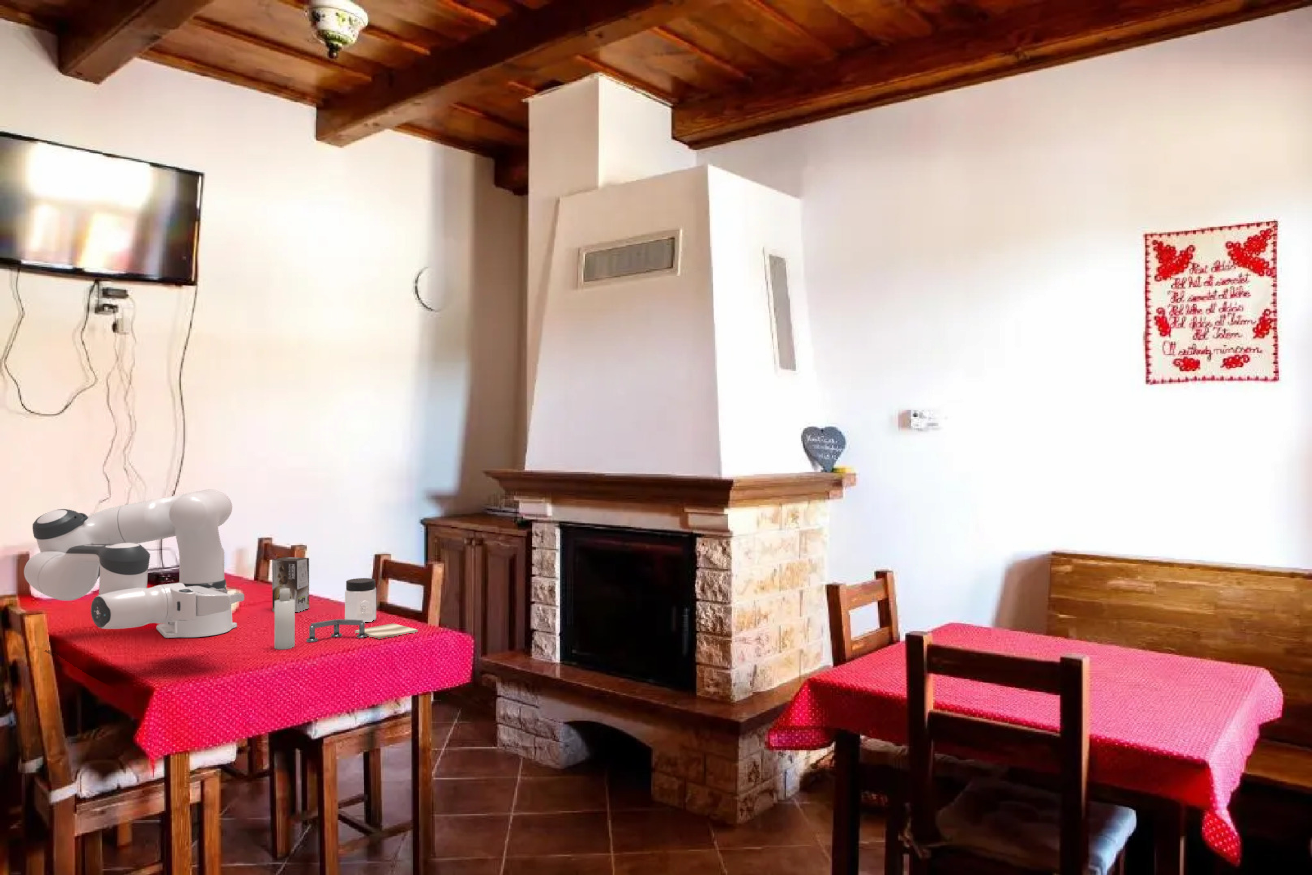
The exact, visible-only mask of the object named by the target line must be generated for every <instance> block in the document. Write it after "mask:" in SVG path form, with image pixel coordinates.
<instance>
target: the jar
mask: <svg viewBox="0 0 1312 875" xmlns="http://www.w3.org/2000/svg"><path fill="white" fill-rule="evenodd" d="M345 582H346V583H345V587H346V588H345V590H344V619H348V620H363V622H372V621H373V620H374V621H376V620H377V587H376V579H375V578H372V577H371V578H369V577H368V578H367V577H363V578H362V577H360V578H359V577H358V578H351V579H347V580H346V581H345ZM374 621H373V622H374ZM373 622H372V623H373Z"/></svg>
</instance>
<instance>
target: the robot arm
mask: <svg viewBox="0 0 1312 875" xmlns="http://www.w3.org/2000/svg"><path fill="white" fill-rule="evenodd" d="M232 512H233V504H232V501H231V499H230V498H229V496H227V495H226V494H225V493H224V492H222V491H219V490H216V489H203V490H198V491H193V492H187V493H181V494H176V495H171V496H166V497H160V498H155V499H150V500H149V499H148V500H143V501H139V502H134V503H129V504H124V505H118V506H115V507H110V508H107V509H104V510H100V511H97V512H95V513H92V514H90V515H87V514H86V513H83V512H78V511H75V510H72V509H66V508H61V509H54V510H51V511H47V512H46V513H43V514H42V515H40V516H38V517H37V518H36V519H35V521H34V522H32V534H33V537H34V539H35V540H36V543H37V545H38V549H39V552H38V553H35V554H34V555H33V556H31V557H30V558H29V560H28V561H27V562H26V564H25V566H24V568H23V575H24V578H25V581H26V582H27V583H28V584H29V585H30V586H31V587H32V588H33V589H35V590H36V591H37V592H39V593H41V594H43V595H45V596H47V597H49V598H52V599H54V600H57V601H67V602H68V601H75V600H78V599H80V598H81V599H82V597H84V596H86V595H87V594H88V593H90V592H91V591H92V590H93V588H94V587H95V586H96V583H97V581H98V579H99V581H98V582H99V585H98V586H99V587H98V595H97V596H95V597H94V598H93V599H92V602H91V604H90V615H91V618H92V621H93V623H94V625H95V626H96V627H97V628H99V629H106V630H111V629H112V630H113V629H114V630H119V629H129V628H130V629H131V628H139V627H143V626H146V625H148V624H157V625H156V630H157V631H158V632H159V633H160V635H162V636H163V637H164V638H165V639H166V638H167V639H169V638H200V637H209V636H216V635H217V636H218V635H222V634H224V633H227V632H230V631H231V630H232V629H234V628H237V627H238V623H237V622H233V613H232V612H233V611H232V605H233V604H235V603H238V602H239V603H240V602H243V601H244V600H245V594H244V593H242V592H239V593H238V592H237V593H234V594H230V593H228V591H229V590H228V589H227V580H226V578H225V550H224V548H223V546H222V543H221V542H222V541H221V537H220V533H219V531H220V530H219V527H220V526H222V525H224V524H225V522H227V520H228V519H229V518H230V516H231V515H232ZM173 537H175V538H176V543H177V548H178V557H179V559H178V560H179V563H178V564H179V569H178V570H179V574H178V575H179V581H178V582H174V583H167V584H166V583H164V584H158V585H154V586H152V587H148V572H149V566H150V558H151V553H150V552H149V551H148V550H147V549H146V548H145V547H144V546H143V545H141V544H143V543H147V542H148V543H149V542H152V541H157V540H163V539H168V538H173Z"/></svg>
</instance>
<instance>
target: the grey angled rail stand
mask: <svg viewBox="0 0 1312 875" xmlns="http://www.w3.org/2000/svg"><path fill="white" fill-rule="evenodd" d="M330 626H333V633H330V634H331V635H330V637H331V638H332V637H339V638H342V637H343V633H341V632H340V626H358V630H359V634H357V635H355V636H356V637H358V638H363V637H367V634H365V628H366V627H365V626H366V623H365V622H363V620H348V619H345V618H343V619H341V618H337V619H336V618H335V619H330V620H323V621H317V622H312V623H310V625H309V628H308V631H309V634H308V638H306V643H316V642H318V641H319V640H318V639H319V638H318V637H316V629H318V628H325V627H330ZM341 636H342V637H341ZM356 637H355V638H356ZM358 638H357V639H358ZM367 638H368V637H367ZM363 639H364V638H363Z"/></svg>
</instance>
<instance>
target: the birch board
mask: <svg viewBox="0 0 1312 875" xmlns="http://www.w3.org/2000/svg"><path fill="white" fill-rule="evenodd" d="M418 630H419V629H416V628H413V627H409V626H405V625H403V624H402V625H401V624H397V623H387V624H383V625H376V626H371V627H370V626H369V627H365V634H367V636H369V637H368V638H370V637H375V638H378V639H381V638H385V637H392V638H395V637H394V636H397V637H399V636H398V635H402V634H406V633H413V634H416V633H415V632H418ZM354 633H355V634H356V633H359V629H355V630H354ZM418 633H419V632H418ZM402 636H403V635H402Z"/></svg>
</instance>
